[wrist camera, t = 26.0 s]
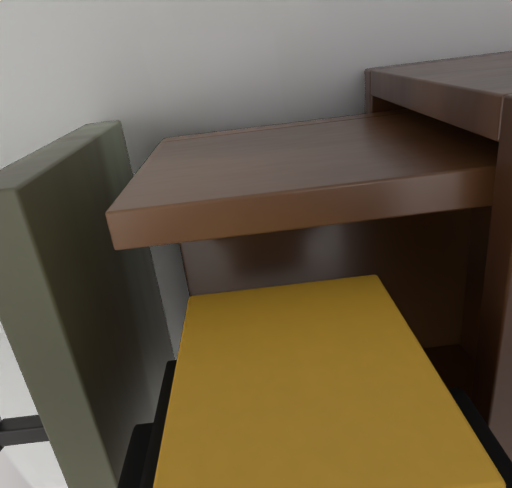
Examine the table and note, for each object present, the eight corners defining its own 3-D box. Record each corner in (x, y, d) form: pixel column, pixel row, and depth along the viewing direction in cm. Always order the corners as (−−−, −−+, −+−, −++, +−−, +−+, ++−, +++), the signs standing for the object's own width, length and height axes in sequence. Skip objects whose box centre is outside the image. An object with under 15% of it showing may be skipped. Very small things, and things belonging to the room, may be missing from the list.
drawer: (47, 402, 20) (-61, 607, 12) (-55, 140, 15) (-319, 227, 8) (463, 354, 19) (595, 532, 12) (490, 75, 15) (726, 102, 8)
